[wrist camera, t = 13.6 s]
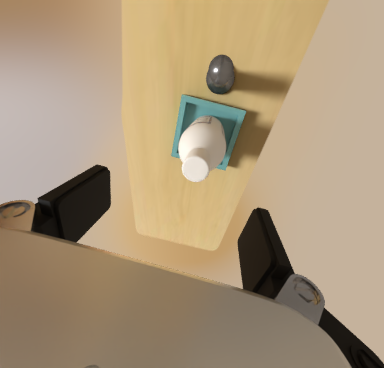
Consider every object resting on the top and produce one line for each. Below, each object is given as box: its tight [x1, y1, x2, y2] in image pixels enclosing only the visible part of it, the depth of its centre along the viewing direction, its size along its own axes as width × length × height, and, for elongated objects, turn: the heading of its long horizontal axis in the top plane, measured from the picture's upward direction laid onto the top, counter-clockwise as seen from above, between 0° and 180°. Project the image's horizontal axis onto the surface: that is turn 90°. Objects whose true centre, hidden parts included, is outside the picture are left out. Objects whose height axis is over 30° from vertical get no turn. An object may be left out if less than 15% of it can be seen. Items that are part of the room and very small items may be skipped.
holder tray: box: [171, 95, 246, 170], centre depth 35 cm, size 12×12×3 cm
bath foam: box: [178, 115, 226, 182], centre depth 26 cm, size 7×7×20 cm
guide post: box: [206, 55, 234, 94], centre depth 26 cm, size 5×5×12 cm
